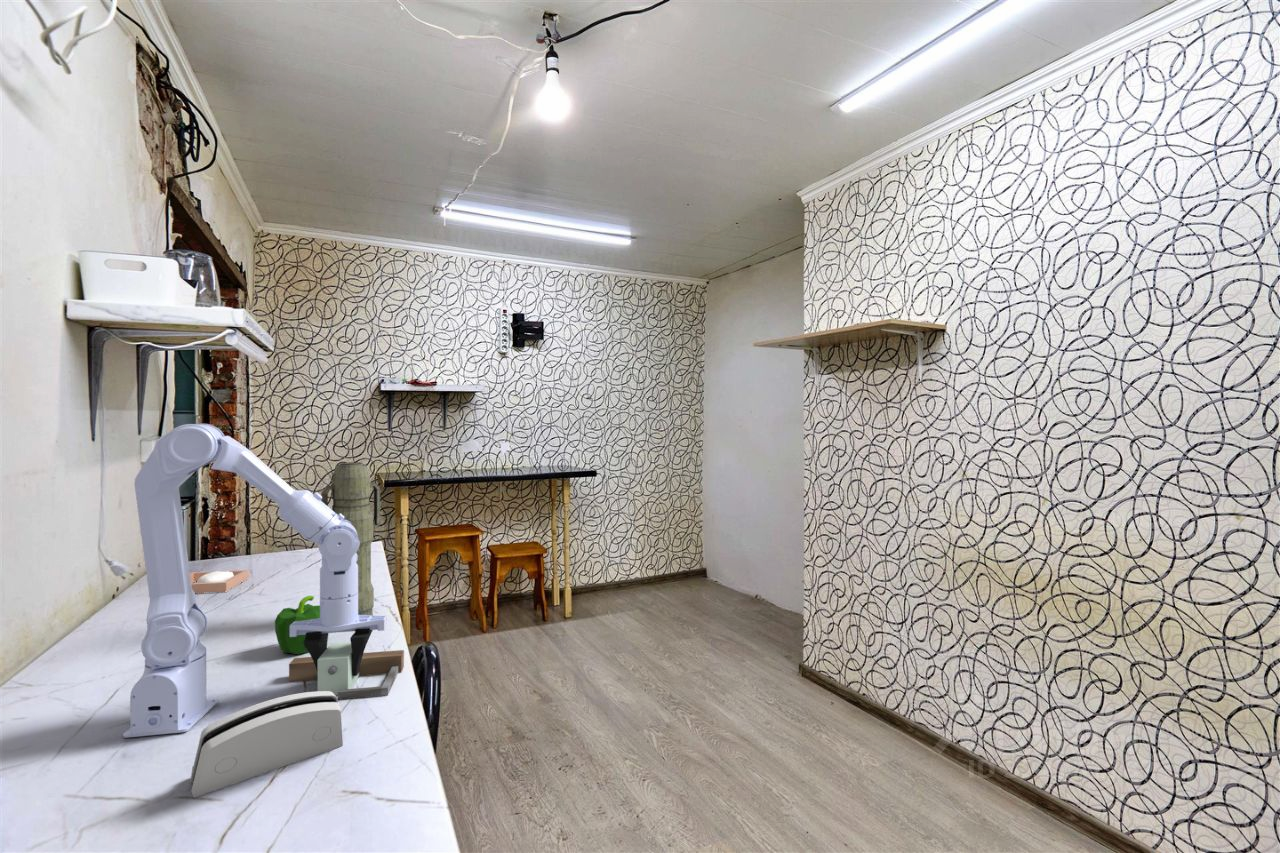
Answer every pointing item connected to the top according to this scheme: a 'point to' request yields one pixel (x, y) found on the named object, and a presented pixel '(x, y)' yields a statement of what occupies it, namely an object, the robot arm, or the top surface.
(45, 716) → the top surface
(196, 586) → the tan flat square tray
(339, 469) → the thermos
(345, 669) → the cabinet block
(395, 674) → the wall board
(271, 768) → the grey napkin holder
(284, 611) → the bell pepper
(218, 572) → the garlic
